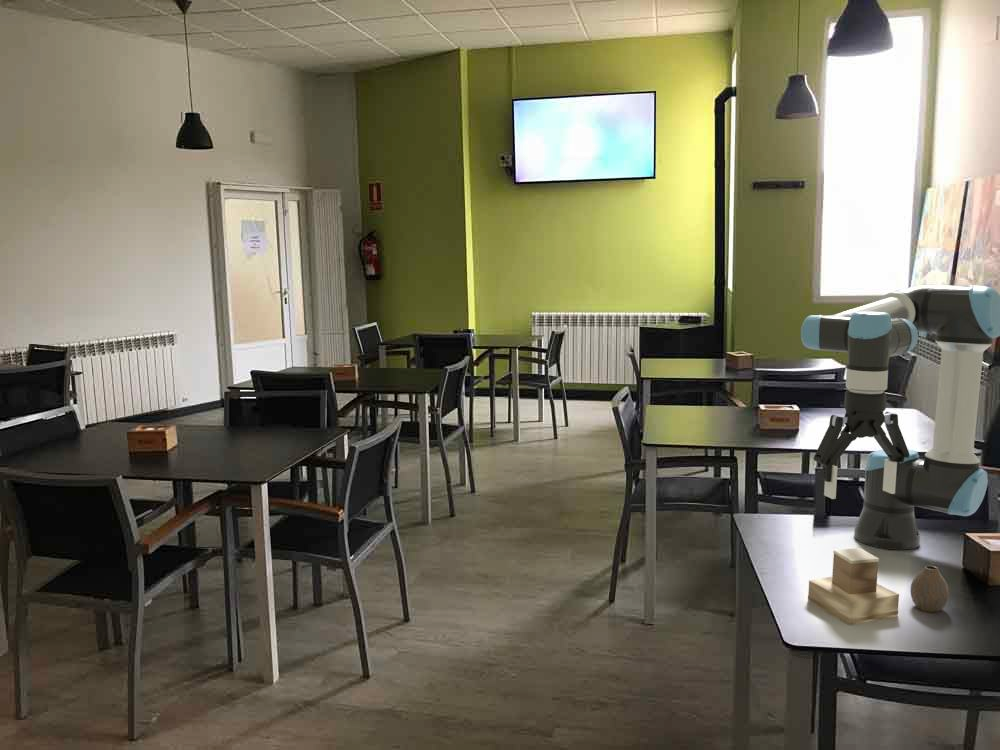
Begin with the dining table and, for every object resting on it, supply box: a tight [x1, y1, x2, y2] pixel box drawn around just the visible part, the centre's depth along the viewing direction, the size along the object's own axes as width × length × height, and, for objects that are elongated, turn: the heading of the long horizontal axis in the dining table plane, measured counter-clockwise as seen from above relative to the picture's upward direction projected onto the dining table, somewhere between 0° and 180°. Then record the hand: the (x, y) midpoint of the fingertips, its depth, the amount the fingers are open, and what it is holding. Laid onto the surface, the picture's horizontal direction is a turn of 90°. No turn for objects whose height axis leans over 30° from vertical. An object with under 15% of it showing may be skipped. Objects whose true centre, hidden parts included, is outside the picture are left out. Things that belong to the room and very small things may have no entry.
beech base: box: [807, 576, 900, 626], centre depth 171 cm, size 12×12×5 cm
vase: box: [910, 564, 950, 613], centre depth 171 cm, size 7×7×9 cm
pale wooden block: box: [831, 547, 880, 594], centre depth 170 cm, size 6×6×7 cm
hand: (859, 494), depth 168 cm, fingers open, 13 cm apart
